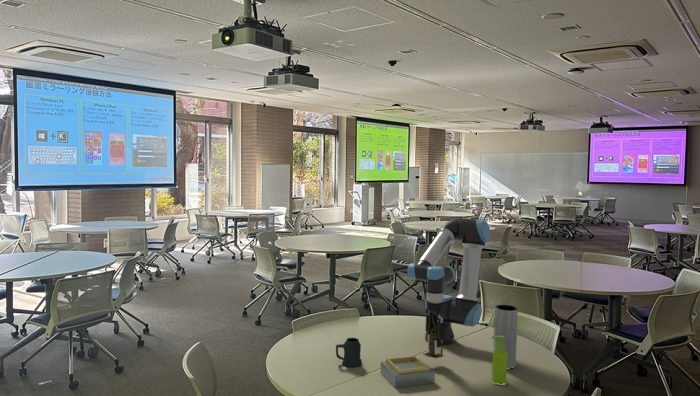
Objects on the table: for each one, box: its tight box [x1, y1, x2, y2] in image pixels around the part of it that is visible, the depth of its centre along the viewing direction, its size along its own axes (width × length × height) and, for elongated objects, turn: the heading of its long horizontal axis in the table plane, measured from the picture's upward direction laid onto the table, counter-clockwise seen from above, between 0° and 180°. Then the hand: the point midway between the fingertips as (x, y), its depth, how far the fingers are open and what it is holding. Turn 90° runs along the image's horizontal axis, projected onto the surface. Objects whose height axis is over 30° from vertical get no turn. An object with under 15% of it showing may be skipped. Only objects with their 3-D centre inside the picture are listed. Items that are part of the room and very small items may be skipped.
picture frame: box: [380, 355, 436, 389], centre depth 227 cm, size 18×19×6 cm
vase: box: [492, 304, 519, 368], centre depth 241 cm, size 10×10×27 cm
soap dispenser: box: [490, 335, 508, 384], centre depth 221 cm, size 6×7×20 cm
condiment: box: [422, 328, 447, 360], centre depth 239 cm, size 7×8×12 cm
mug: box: [335, 337, 363, 368], centre depth 240 cm, size 12×9×11 cm
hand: (434, 350), depth 239 cm, fingers closed on condiment, 6 cm apart
